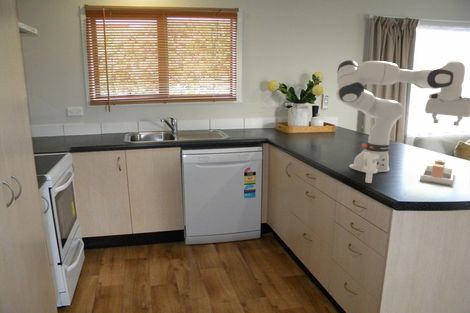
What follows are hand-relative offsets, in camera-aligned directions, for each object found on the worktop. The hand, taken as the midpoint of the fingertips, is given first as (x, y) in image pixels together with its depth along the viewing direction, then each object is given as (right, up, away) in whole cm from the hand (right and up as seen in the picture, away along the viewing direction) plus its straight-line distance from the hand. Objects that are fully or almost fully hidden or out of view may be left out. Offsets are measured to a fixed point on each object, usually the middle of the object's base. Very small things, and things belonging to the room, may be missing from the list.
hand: (445, 124), depth 175 cm
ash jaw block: (+6, -25, +17) cm, 31 cm away
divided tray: (+3, -27, +12) cm, 30 cm away
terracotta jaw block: (-1, -27, +7) cm, 28 cm away
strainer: (-38, -29, +1) cm, 47 cm away
